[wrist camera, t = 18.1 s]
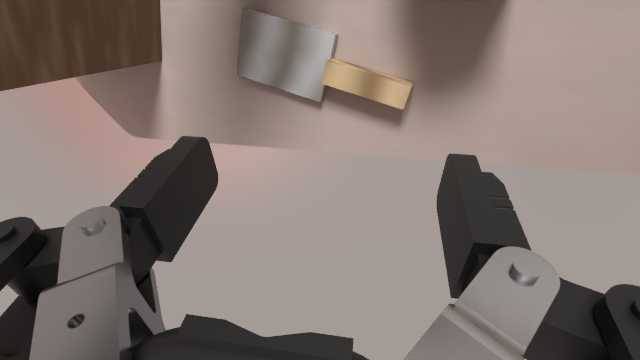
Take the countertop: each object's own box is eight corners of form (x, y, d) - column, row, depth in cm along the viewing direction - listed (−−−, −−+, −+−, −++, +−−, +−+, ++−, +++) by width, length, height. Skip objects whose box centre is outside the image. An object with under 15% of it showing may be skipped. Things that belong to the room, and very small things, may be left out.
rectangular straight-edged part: (242, 73, 45) (231, 76, 42) (247, 8, 40) (235, 8, 38) (398, 125, 40) (395, 131, 38) (422, 58, 36) (420, 61, 34)
